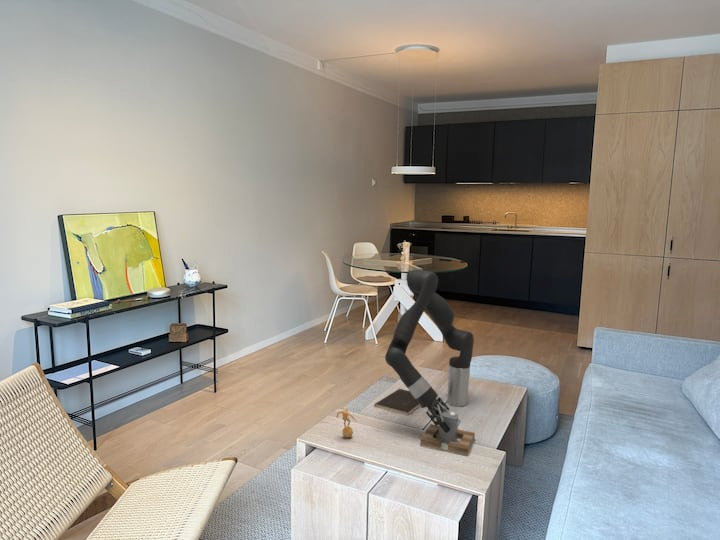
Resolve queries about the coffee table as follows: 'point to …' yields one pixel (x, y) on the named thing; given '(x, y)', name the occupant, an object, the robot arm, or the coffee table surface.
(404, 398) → the hardcover book
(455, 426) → the block
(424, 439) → the walnut plate
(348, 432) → the figurine
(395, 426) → the coffee table surface
